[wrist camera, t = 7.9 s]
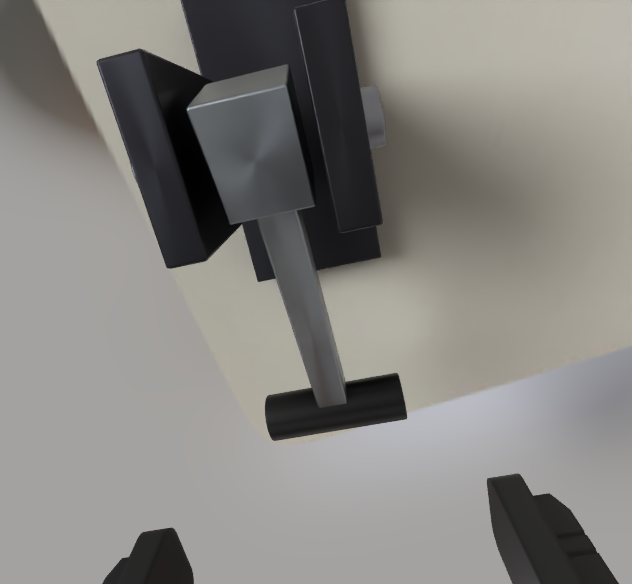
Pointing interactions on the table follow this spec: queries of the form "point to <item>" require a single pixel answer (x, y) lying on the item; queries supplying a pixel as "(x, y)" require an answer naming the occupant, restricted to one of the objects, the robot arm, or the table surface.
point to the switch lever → (285, 242)
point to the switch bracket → (316, 111)
